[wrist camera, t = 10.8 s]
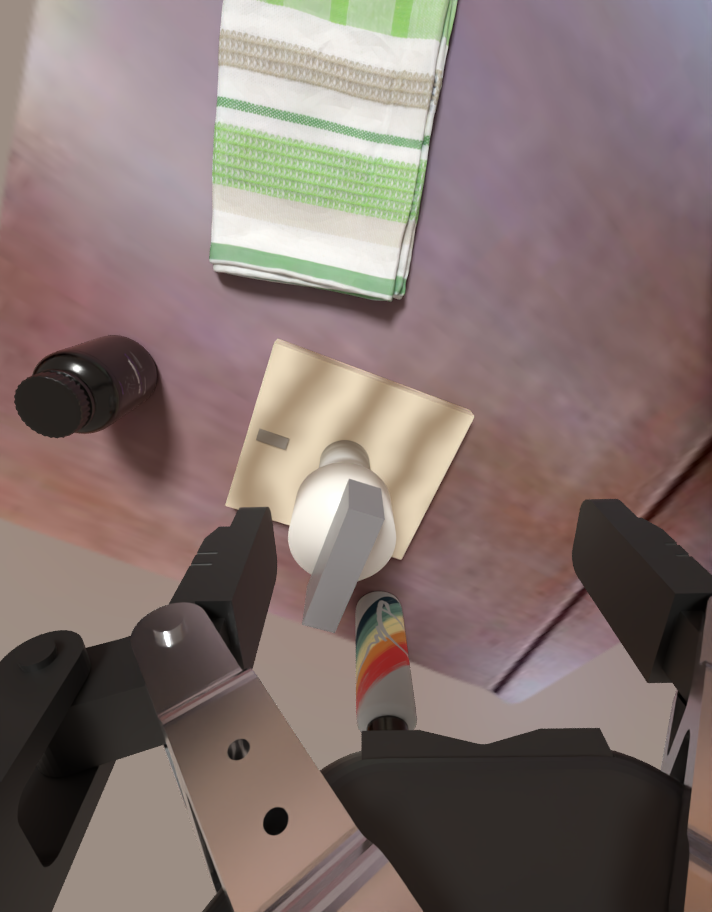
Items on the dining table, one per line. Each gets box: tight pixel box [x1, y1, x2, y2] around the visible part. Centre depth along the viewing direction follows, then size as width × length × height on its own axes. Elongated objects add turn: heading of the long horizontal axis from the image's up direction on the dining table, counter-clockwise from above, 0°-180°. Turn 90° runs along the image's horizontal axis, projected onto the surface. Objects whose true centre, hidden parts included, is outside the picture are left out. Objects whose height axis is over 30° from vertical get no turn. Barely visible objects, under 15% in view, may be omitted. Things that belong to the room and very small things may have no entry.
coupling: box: [288, 462, 396, 633], centre depth 35 cm, size 10×8×9 cm
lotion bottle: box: [356, 591, 417, 733], centre depth 48 cm, size 6×6×20 cm
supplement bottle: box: [14, 335, 157, 438], centre depth 39 cm, size 7×7×12 cm
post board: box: [225, 339, 474, 560], centre depth 44 cm, size 20×18×10 cm
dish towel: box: [209, 0, 457, 302], centre depth 36 cm, size 17×23×4 cm
